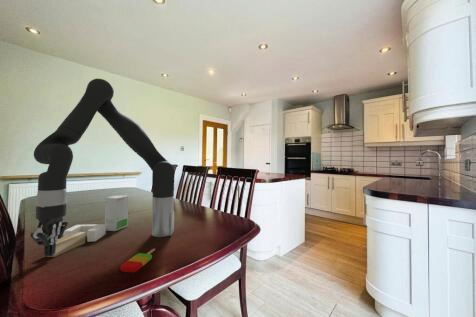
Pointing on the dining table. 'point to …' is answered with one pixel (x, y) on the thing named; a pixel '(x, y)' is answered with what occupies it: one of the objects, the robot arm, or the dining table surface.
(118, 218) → the skincare box
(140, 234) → the dining table surface
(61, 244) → the beige wooden block
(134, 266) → the popsicle
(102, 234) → the end cap
